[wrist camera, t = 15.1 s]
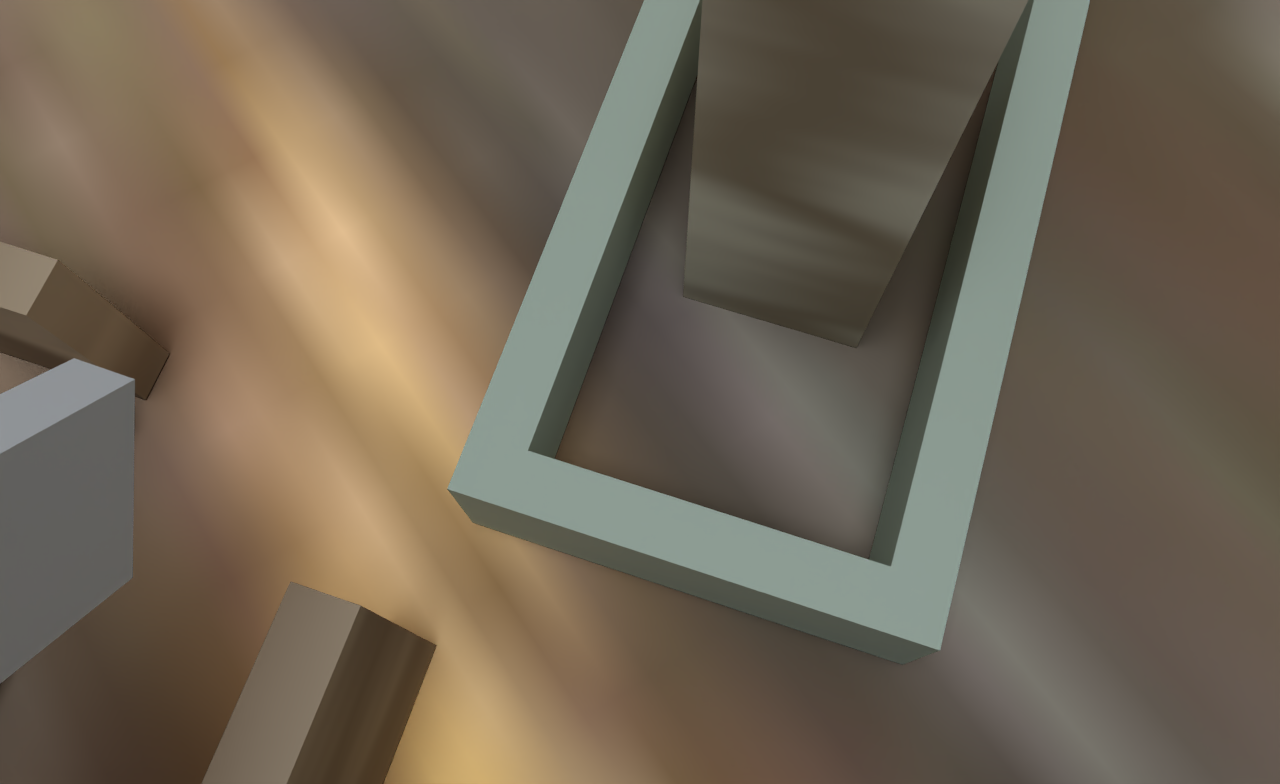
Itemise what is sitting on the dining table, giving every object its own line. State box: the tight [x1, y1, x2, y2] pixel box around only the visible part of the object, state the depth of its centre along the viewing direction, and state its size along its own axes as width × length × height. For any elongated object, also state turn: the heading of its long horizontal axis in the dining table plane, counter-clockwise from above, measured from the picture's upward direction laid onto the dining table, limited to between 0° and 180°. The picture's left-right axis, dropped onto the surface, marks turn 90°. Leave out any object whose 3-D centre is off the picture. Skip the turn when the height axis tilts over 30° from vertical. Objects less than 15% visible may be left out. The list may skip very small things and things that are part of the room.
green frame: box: [448, 0, 1090, 665], centre depth 20 cm, size 8×17×2 cm, turn 162°
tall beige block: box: [683, 0, 1028, 348], centre depth 16 cm, size 4×6×10 cm, turn 162°
